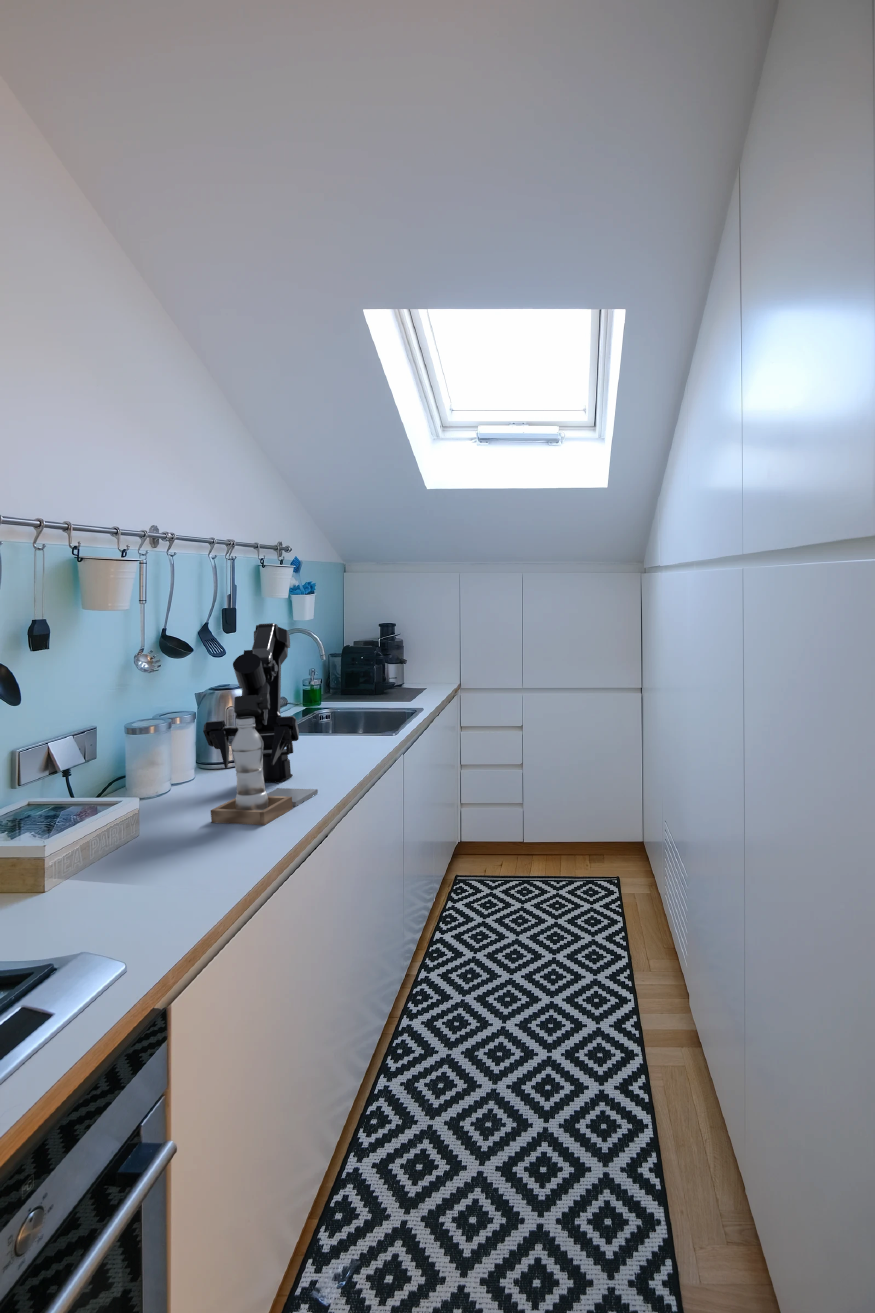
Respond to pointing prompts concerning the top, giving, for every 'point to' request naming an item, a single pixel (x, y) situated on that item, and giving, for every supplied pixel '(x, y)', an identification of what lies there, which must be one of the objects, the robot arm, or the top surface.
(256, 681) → the robot arm
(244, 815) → the walnut collar
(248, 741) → the plastic bottle
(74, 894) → the top surface
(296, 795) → the slate pad
